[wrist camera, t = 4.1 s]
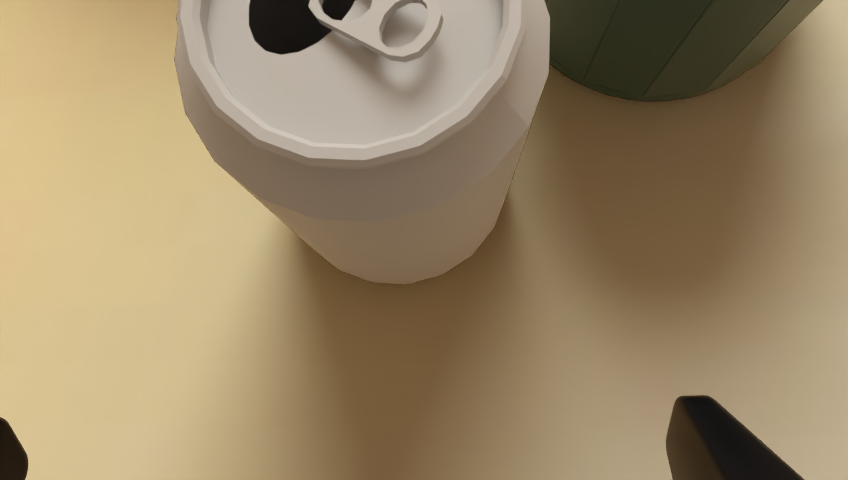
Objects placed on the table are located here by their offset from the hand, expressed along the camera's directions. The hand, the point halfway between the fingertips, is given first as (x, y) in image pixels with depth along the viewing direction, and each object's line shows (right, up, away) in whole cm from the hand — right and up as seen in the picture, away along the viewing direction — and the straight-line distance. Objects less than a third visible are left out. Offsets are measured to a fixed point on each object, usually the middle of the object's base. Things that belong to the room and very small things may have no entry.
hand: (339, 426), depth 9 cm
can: (0, +5, +14) cm, 15 cm away
